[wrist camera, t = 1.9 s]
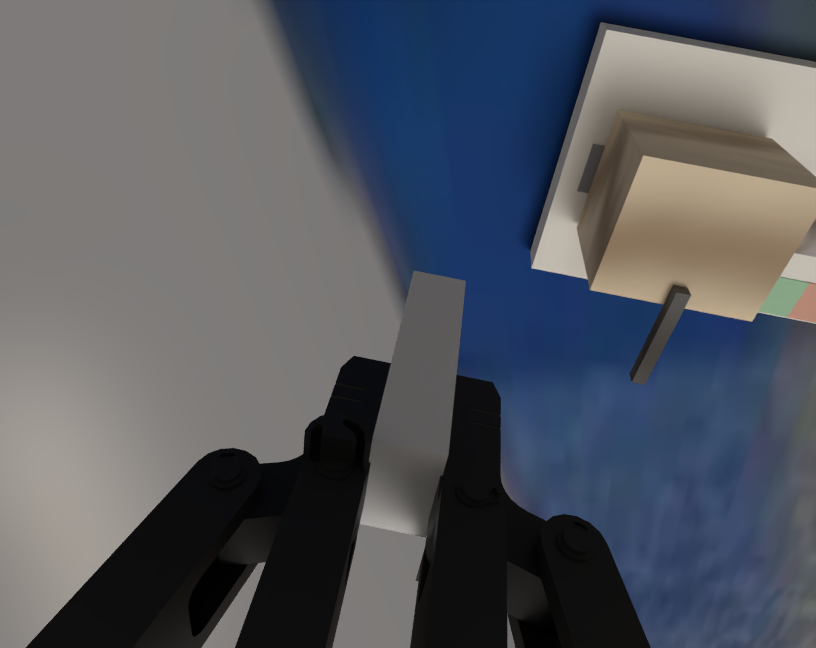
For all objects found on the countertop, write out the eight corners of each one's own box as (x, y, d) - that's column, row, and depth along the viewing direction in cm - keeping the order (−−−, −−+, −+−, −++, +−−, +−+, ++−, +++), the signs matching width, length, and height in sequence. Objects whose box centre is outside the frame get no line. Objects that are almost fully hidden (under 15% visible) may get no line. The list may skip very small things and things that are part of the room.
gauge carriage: (618, 109, 26) (646, 161, 21) (838, 151, 26) (924, 213, 21) (553, 292, 32) (563, 368, 27) (733, 327, 32) (778, 411, 27)
